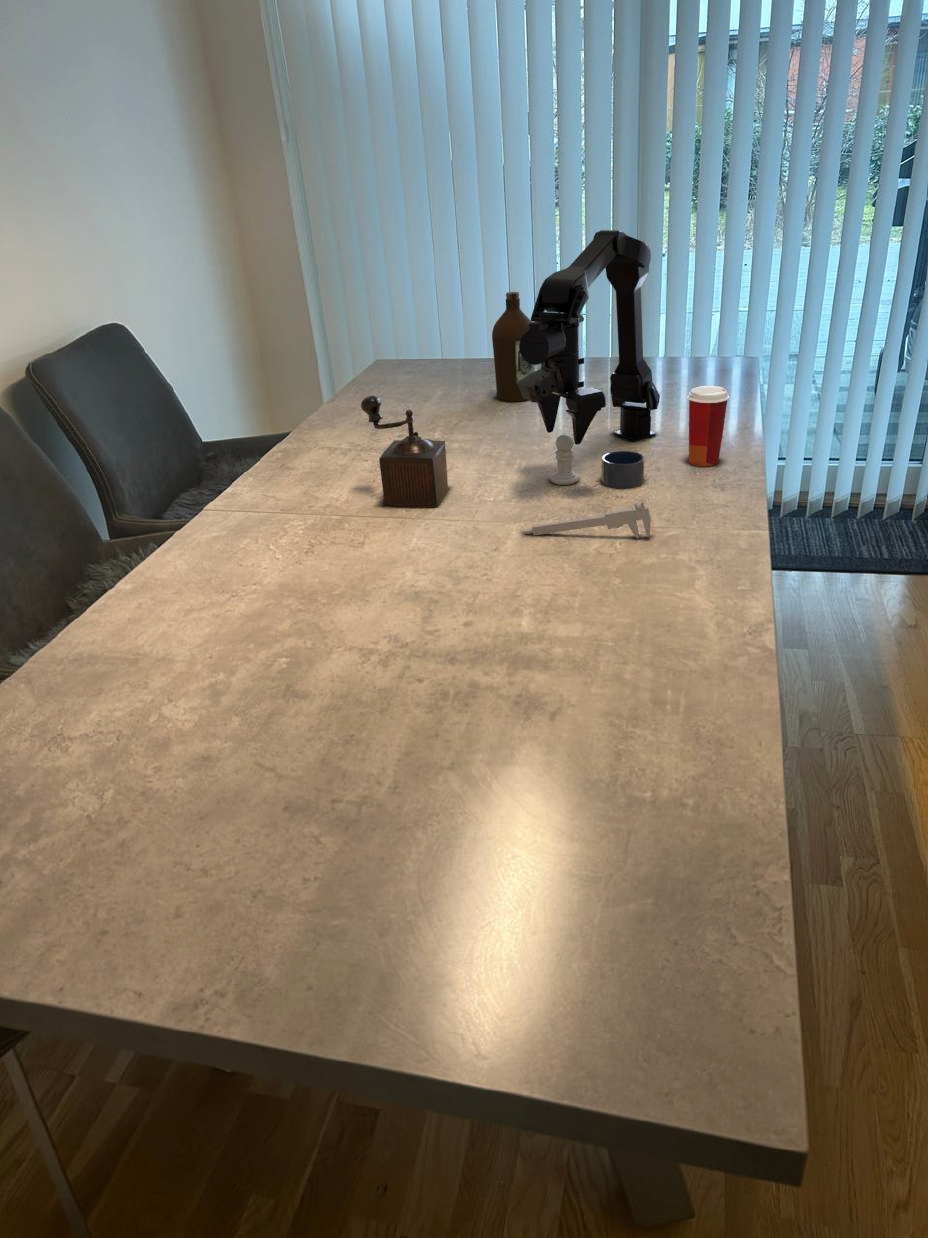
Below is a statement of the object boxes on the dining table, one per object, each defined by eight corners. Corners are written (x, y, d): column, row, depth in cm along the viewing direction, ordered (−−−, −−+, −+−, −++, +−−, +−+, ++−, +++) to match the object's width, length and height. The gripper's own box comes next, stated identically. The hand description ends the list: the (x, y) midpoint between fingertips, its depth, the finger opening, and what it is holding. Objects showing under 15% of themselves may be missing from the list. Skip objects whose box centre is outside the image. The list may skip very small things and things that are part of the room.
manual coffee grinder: (451, 486, 170) (444, 392, 162) (437, 507, 161) (430, 409, 152) (373, 484, 174) (363, 392, 165) (356, 506, 164) (344, 409, 155)
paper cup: (720, 454, 177) (726, 384, 170) (726, 467, 170) (733, 394, 164) (680, 455, 178) (684, 385, 171) (685, 468, 171) (689, 396, 165)
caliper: (650, 536, 145) (651, 500, 142) (649, 539, 144) (651, 502, 141) (525, 532, 149) (524, 497, 146) (524, 535, 148) (524, 499, 145)
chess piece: (584, 479, 169) (584, 433, 165) (566, 487, 166) (566, 440, 162) (561, 474, 173) (561, 428, 168) (544, 481, 169) (543, 436, 165)
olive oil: (485, 398, 224) (481, 294, 212) (514, 389, 230) (511, 287, 218) (516, 405, 217) (513, 297, 205) (545, 395, 223) (544, 290, 211)
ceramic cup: (593, 479, 169) (593, 456, 167) (626, 471, 172) (627, 448, 170) (618, 491, 163) (618, 467, 161) (651, 482, 166) (652, 458, 164)
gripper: (497, 350, 162) (500, 434, 169) (553, 369, 147) (554, 459, 155) (549, 341, 166) (550, 423, 174) (608, 358, 151) (607, 447, 159)
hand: (563, 437), depth 165 cm, fingers open, 9 cm apart
